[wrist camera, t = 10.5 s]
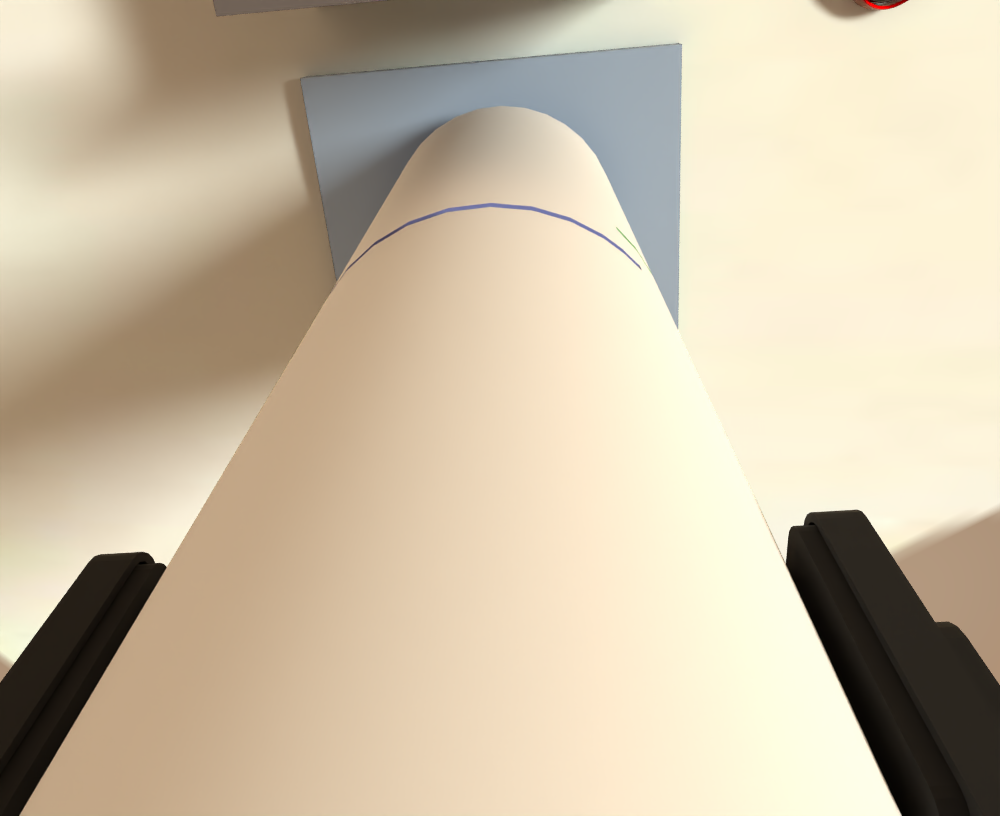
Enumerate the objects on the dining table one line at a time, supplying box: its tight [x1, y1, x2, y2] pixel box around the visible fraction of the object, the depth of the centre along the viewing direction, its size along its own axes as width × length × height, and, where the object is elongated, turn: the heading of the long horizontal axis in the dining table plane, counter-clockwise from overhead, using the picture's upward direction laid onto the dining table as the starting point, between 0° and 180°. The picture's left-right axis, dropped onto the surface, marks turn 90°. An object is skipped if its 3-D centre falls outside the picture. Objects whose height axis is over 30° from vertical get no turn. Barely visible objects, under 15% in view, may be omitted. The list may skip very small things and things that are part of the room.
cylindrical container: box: [19, 106, 902, 816], centre depth 16 cm, size 7×7×25 cm
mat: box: [300, 43, 682, 329], centre depth 29 cm, size 10×12×1 cm
